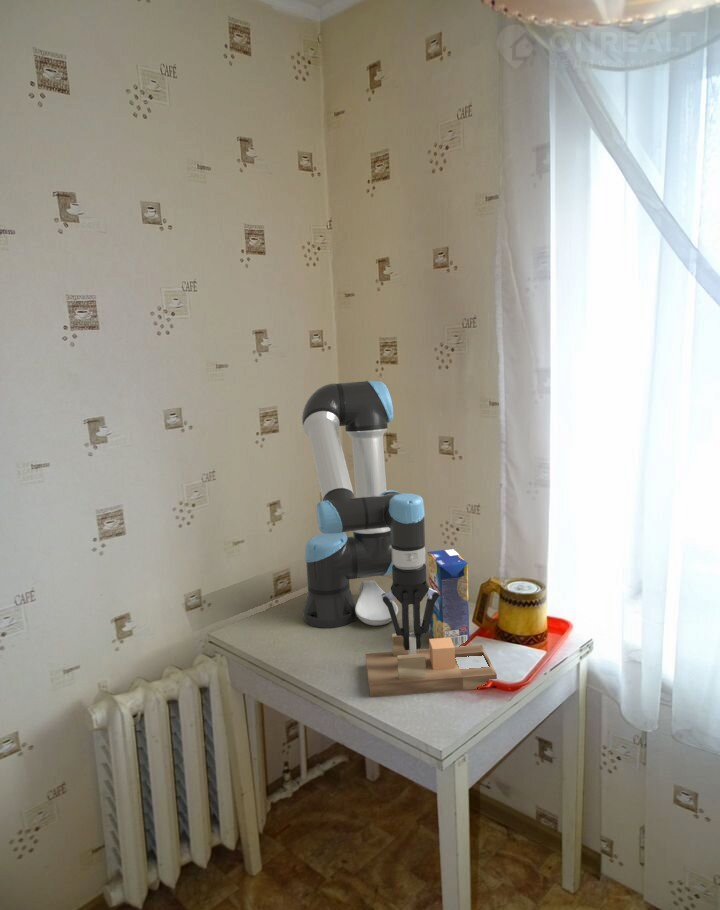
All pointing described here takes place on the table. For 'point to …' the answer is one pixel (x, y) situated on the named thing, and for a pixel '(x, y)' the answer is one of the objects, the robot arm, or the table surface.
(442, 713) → the table surface
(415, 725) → the table surface
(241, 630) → the table surface
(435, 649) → the block
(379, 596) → the spoon rest
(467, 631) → the beverage box
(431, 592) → the robot arm
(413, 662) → the deck
